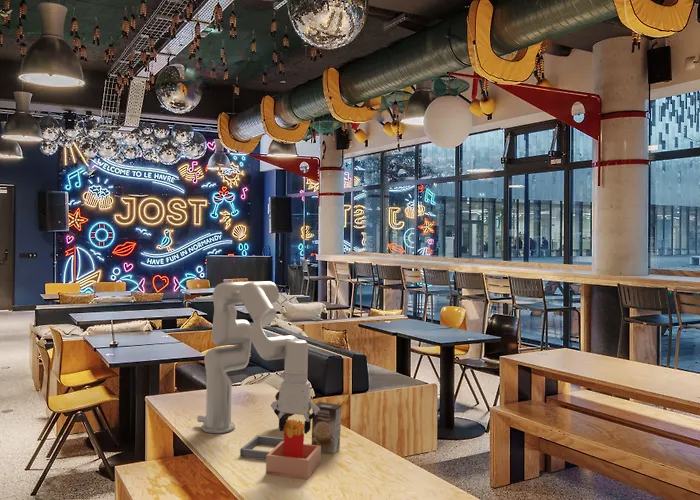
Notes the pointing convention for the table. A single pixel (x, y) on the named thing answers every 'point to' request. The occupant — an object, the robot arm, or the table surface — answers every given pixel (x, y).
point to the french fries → (293, 438)
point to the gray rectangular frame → (258, 454)
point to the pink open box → (293, 462)
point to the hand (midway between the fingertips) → (294, 430)
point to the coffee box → (327, 427)
